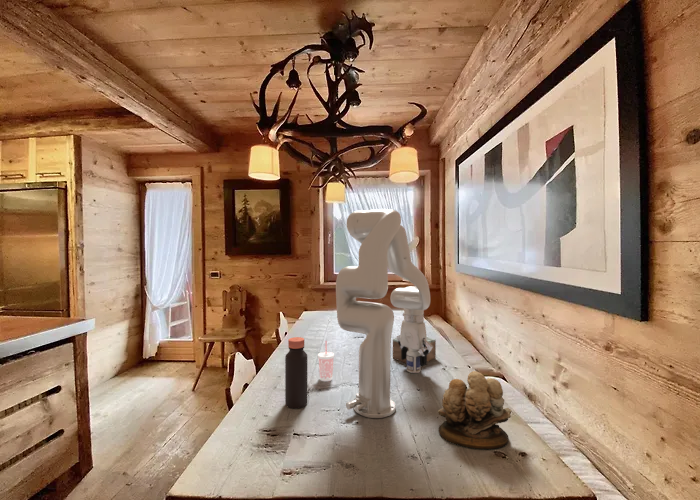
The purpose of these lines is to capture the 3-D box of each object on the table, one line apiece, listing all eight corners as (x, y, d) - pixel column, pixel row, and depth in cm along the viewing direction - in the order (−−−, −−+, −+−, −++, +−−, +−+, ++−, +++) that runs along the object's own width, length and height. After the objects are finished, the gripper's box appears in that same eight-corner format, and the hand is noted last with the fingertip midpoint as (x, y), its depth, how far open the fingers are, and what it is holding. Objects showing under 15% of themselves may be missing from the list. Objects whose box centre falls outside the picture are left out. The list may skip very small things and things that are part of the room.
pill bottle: (418, 368, 131) (418, 343, 131) (422, 373, 126) (422, 348, 125) (405, 368, 131) (405, 343, 131) (408, 373, 125) (408, 348, 125)
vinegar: (311, 400, 103) (311, 337, 103) (300, 410, 97) (300, 343, 97) (292, 397, 106) (292, 335, 105) (281, 406, 99) (280, 341, 99)
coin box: (414, 366, 133) (414, 345, 133) (392, 358, 142) (392, 338, 142) (435, 358, 142) (435, 339, 142) (413, 351, 151) (414, 333, 151)
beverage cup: (314, 379, 119) (314, 341, 119) (324, 374, 125) (323, 337, 124) (328, 383, 116) (328, 344, 116) (337, 377, 122) (337, 339, 121)
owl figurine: (502, 426, 89) (504, 363, 89) (520, 453, 78) (521, 382, 77) (435, 421, 91) (436, 360, 91) (442, 447, 80) (443, 378, 79)
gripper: (390, 315, 132) (390, 358, 133) (425, 323, 119) (425, 371, 119) (403, 313, 137) (403, 354, 137) (438, 320, 123) (438, 366, 124)
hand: (413, 361), depth 128 cm, fingers open, 9 cm apart
